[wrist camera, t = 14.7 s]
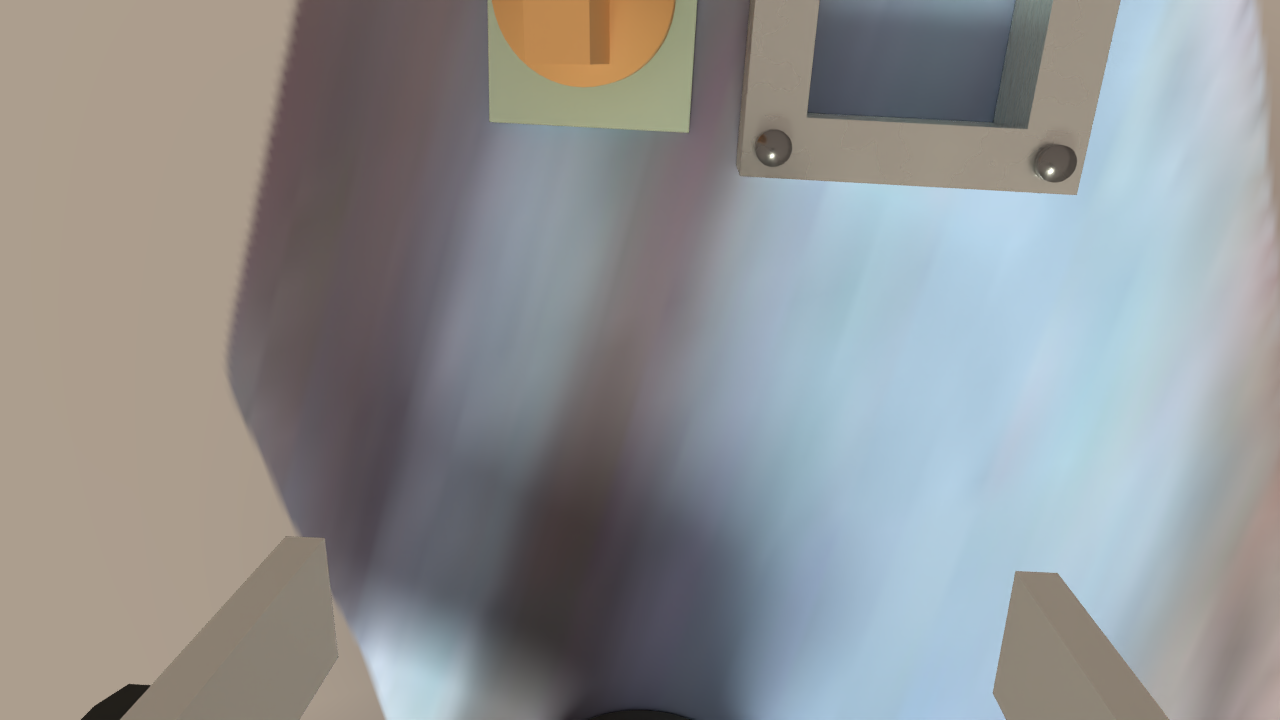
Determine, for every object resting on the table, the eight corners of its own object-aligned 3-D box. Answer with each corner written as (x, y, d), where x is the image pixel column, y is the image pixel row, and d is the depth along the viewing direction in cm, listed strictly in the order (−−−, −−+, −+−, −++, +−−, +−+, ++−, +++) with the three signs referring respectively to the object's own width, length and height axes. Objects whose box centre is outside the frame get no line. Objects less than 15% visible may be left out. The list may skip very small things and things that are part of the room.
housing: (1037, 181, 41) (1082, 197, 36) (735, 165, 42) (740, 177, 37) (1110, -167, 36) (1173, -203, 31) (765, -179, 37) (774, -216, 32)
